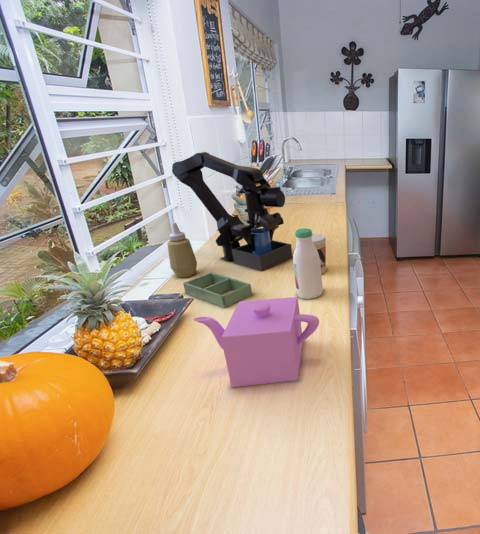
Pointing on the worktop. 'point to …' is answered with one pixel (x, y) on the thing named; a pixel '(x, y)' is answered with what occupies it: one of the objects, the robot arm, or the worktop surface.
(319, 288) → the milk bottle
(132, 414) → the worktop surface
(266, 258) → the black square tray
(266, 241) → the blue cup
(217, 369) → the worktop surface
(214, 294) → the divided tray
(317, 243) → the coffee cup
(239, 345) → the teapot
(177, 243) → the squeeze bottle
